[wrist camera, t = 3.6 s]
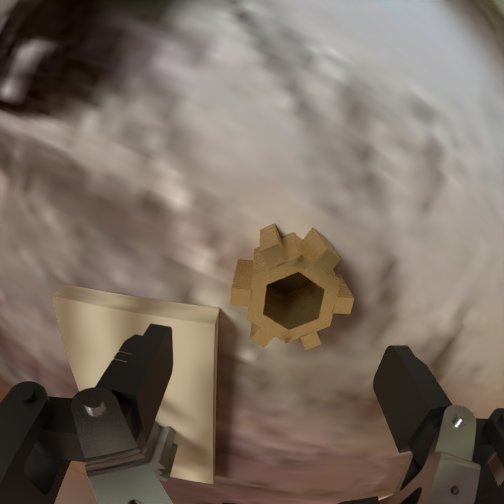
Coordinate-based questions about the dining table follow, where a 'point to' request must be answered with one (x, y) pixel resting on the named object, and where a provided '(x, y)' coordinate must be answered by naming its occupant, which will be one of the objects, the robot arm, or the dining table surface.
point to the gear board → (182, 379)
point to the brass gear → (299, 301)
